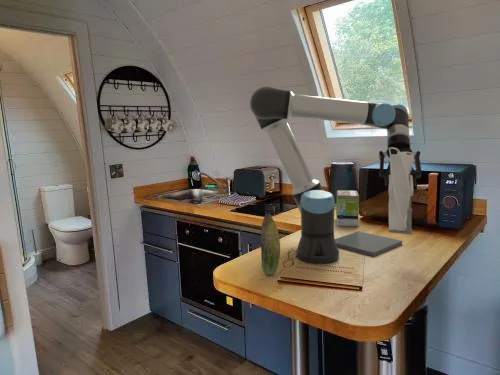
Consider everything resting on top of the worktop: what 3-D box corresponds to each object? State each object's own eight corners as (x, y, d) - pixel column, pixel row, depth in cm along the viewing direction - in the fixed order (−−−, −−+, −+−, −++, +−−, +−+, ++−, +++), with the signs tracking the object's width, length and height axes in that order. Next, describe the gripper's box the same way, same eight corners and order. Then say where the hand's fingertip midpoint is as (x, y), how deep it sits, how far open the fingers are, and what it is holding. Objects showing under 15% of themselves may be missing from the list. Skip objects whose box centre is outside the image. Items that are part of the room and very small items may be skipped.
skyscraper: (384, 231, 129) (387, 147, 124) (386, 226, 136) (389, 146, 131) (411, 234, 125) (416, 148, 121) (411, 228, 133) (416, 146, 128)
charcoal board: (373, 256, 138) (373, 252, 138) (328, 244, 153) (328, 241, 153) (402, 244, 150) (402, 240, 150) (358, 234, 166) (358, 231, 165)
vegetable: (280, 271, 127) (279, 212, 123) (281, 278, 120) (280, 216, 117) (261, 271, 127) (260, 212, 124) (261, 279, 121) (260, 217, 118)
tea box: (358, 226, 178) (359, 195, 176) (336, 226, 180) (336, 195, 178) (356, 218, 193) (356, 189, 191) (336, 218, 195) (336, 189, 193)
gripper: (425, 147, 138) (430, 200, 125) (370, 147, 143) (370, 198, 131) (428, 132, 132) (434, 187, 120) (371, 133, 138) (371, 185, 125)
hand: (400, 193), depth 125 cm, fingers closed on skyscraper, 6 cm apart
